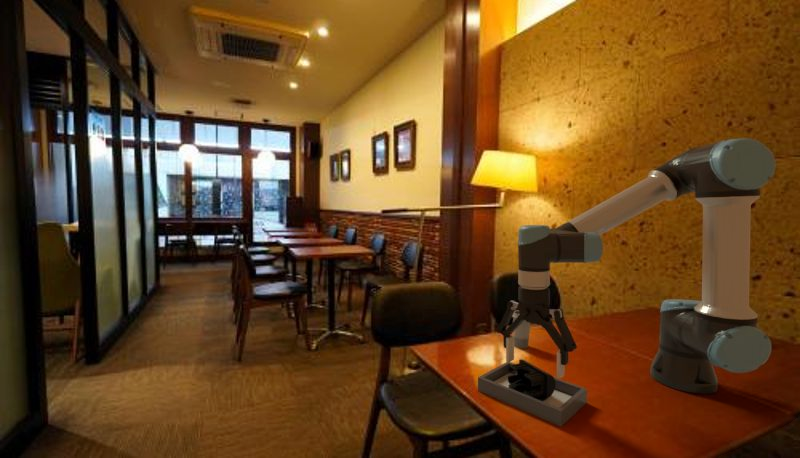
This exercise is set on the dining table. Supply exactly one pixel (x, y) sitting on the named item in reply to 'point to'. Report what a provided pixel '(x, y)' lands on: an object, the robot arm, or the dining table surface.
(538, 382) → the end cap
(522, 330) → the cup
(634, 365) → the dining table surface
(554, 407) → the shallow grey tray
